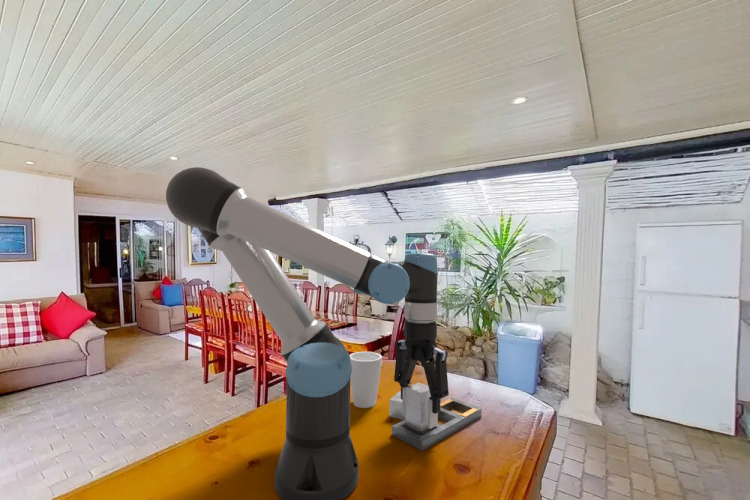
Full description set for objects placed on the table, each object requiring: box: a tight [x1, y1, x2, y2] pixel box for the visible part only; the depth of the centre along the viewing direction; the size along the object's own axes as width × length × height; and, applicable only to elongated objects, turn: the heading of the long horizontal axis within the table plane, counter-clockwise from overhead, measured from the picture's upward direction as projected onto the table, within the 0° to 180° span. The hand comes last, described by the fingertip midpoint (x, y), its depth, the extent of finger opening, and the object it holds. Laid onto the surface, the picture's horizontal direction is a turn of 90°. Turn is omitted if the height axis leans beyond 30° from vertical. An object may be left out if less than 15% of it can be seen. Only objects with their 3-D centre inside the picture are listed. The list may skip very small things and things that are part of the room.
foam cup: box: [349, 351, 383, 409], centre depth 96 cm, size 10×9×13 cm
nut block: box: [388, 389, 406, 421], centre depth 92 cm, size 11×4×4 cm, turn 153°
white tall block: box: [406, 382, 433, 436], centre depth 79 cm, size 4×4×11 cm
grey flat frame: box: [391, 397, 482, 452], centre depth 84 cm, size 24×9×2 cm, turn 133°
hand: (419, 419), depth 79 cm, fingers open, 7 cm apart
